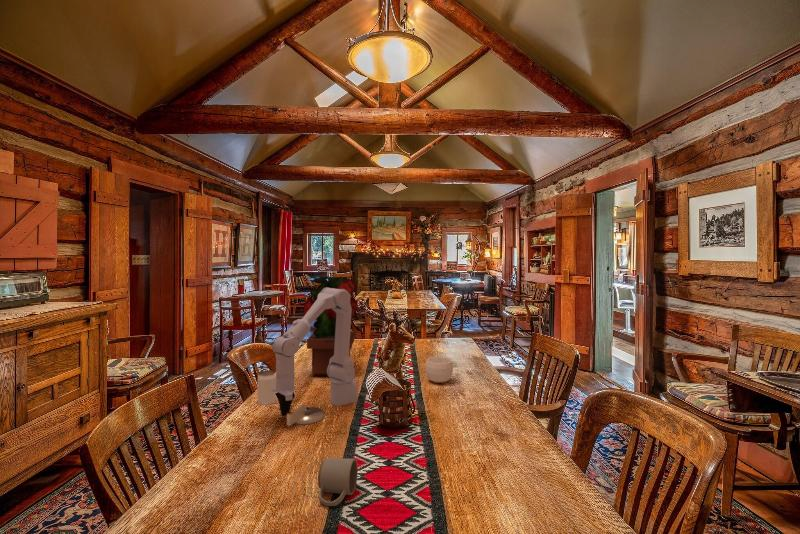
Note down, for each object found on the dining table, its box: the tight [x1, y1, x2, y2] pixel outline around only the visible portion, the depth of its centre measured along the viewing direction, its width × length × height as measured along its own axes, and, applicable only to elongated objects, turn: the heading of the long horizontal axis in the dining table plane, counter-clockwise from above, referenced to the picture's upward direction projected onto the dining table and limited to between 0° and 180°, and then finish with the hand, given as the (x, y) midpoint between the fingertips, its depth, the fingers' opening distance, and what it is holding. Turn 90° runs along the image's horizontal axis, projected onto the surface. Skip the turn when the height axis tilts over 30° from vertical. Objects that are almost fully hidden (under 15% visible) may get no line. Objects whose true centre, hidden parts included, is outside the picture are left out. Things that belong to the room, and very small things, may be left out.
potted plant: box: [303, 275, 359, 377], centre depth 189 cm, size 22×22×45 cm
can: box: [257, 370, 277, 406], centre depth 149 cm, size 6×6×12 cm
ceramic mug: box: [317, 457, 359, 507], centre depth 95 cm, size 11×8×8 cm
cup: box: [424, 356, 454, 384], centre depth 179 cm, size 12×12×10 cm
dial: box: [286, 403, 325, 427], centre depth 134 cm, size 16×12×5 cm
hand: (285, 414), depth 132 cm, fingers closed
